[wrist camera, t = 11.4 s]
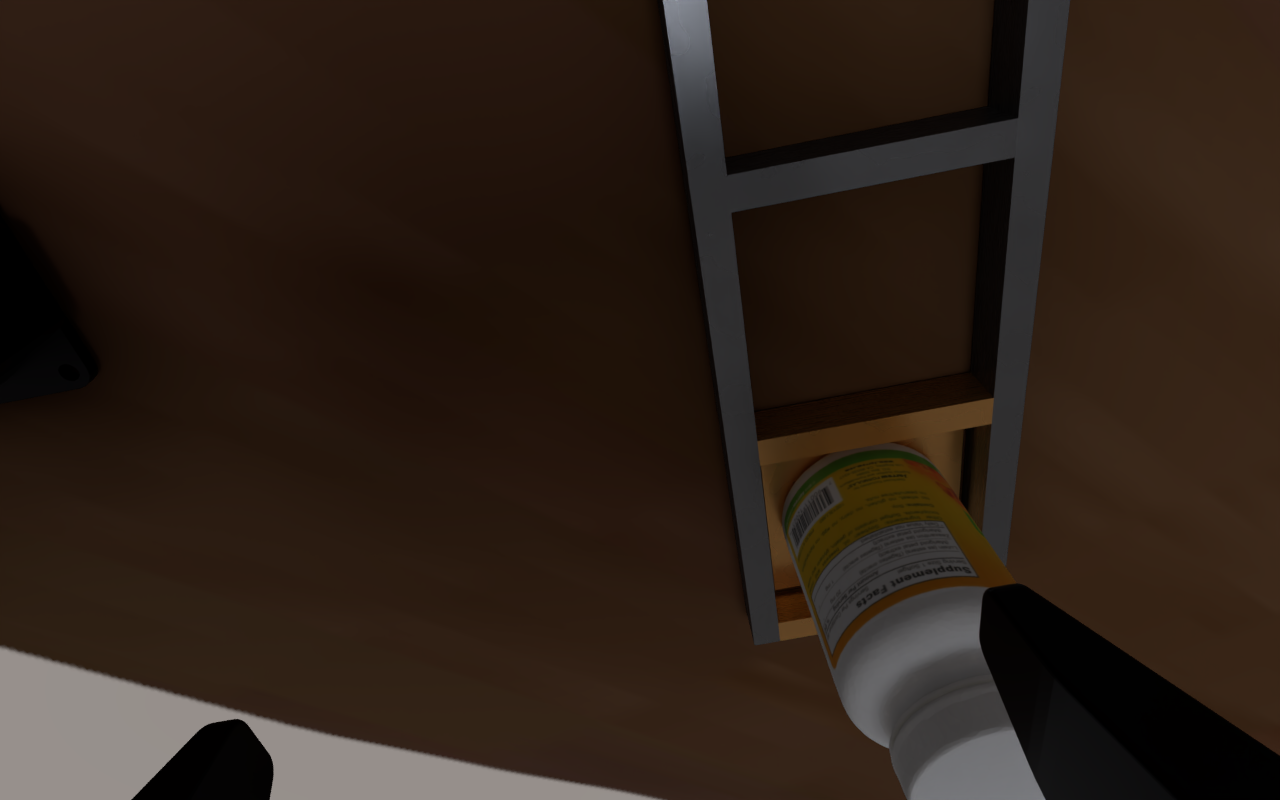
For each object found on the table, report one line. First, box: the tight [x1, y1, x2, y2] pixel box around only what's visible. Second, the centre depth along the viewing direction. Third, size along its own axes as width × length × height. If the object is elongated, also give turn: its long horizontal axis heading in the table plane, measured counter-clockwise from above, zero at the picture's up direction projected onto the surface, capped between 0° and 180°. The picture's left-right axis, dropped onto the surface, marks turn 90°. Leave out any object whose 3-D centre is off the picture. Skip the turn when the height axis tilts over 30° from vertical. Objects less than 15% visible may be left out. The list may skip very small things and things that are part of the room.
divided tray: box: [657, 0, 1070, 645], centre depth 20 cm, size 9×24×2 cm, turn 10°
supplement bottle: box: [782, 443, 1045, 800], centre depth 21 cm, size 5×5×10 cm
